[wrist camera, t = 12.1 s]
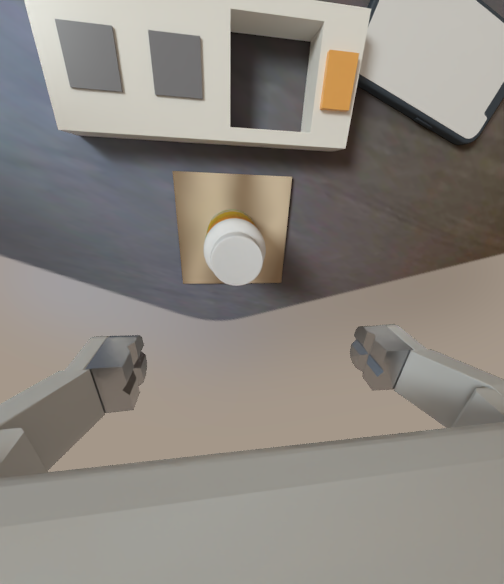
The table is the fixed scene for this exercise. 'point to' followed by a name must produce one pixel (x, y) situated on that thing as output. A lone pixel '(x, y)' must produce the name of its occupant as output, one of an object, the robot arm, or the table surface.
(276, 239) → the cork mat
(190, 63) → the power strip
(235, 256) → the supplement bottle
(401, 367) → the robot arm
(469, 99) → the phone case
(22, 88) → the table surface
